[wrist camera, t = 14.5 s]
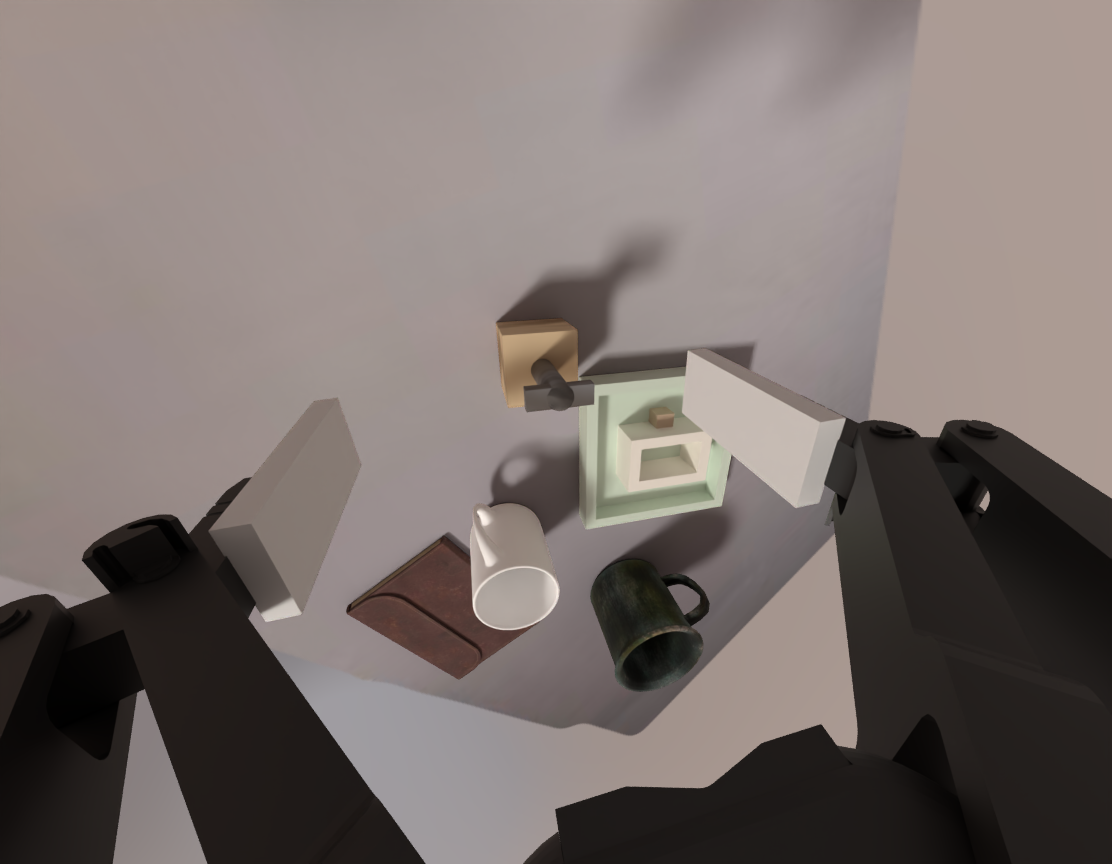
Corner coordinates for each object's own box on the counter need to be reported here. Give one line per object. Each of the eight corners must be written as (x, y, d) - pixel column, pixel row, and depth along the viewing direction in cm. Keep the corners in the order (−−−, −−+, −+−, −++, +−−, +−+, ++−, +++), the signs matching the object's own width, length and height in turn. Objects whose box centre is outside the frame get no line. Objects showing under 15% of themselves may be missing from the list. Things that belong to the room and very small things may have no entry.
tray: (579, 377, 42) (587, 386, 39) (730, 362, 45) (747, 369, 43) (579, 514, 50) (586, 529, 47) (708, 492, 53) (721, 506, 50)
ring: (615, 473, 47) (628, 492, 44) (618, 412, 44) (632, 426, 40) (687, 463, 49) (705, 480, 46) (695, 403, 46) (715, 416, 42)
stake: (495, 322, 38) (512, 357, 26) (561, 318, 39) (604, 349, 27) (501, 386, 40) (519, 443, 29) (562, 380, 42) (602, 432, 30)
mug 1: (506, 467, 45) (519, 527, 35) (551, 535, 50) (573, 603, 41) (439, 503, 45) (434, 572, 35) (492, 567, 50) (500, 642, 41)
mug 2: (572, 584, 55) (599, 666, 44) (660, 528, 54) (710, 597, 43) (607, 623, 60) (639, 704, 49) (689, 571, 59) (739, 643, 49)
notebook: (444, 532, 47) (443, 543, 45) (539, 611, 56) (542, 623, 55) (348, 602, 48) (344, 616, 47) (457, 668, 58) (457, 681, 56)
